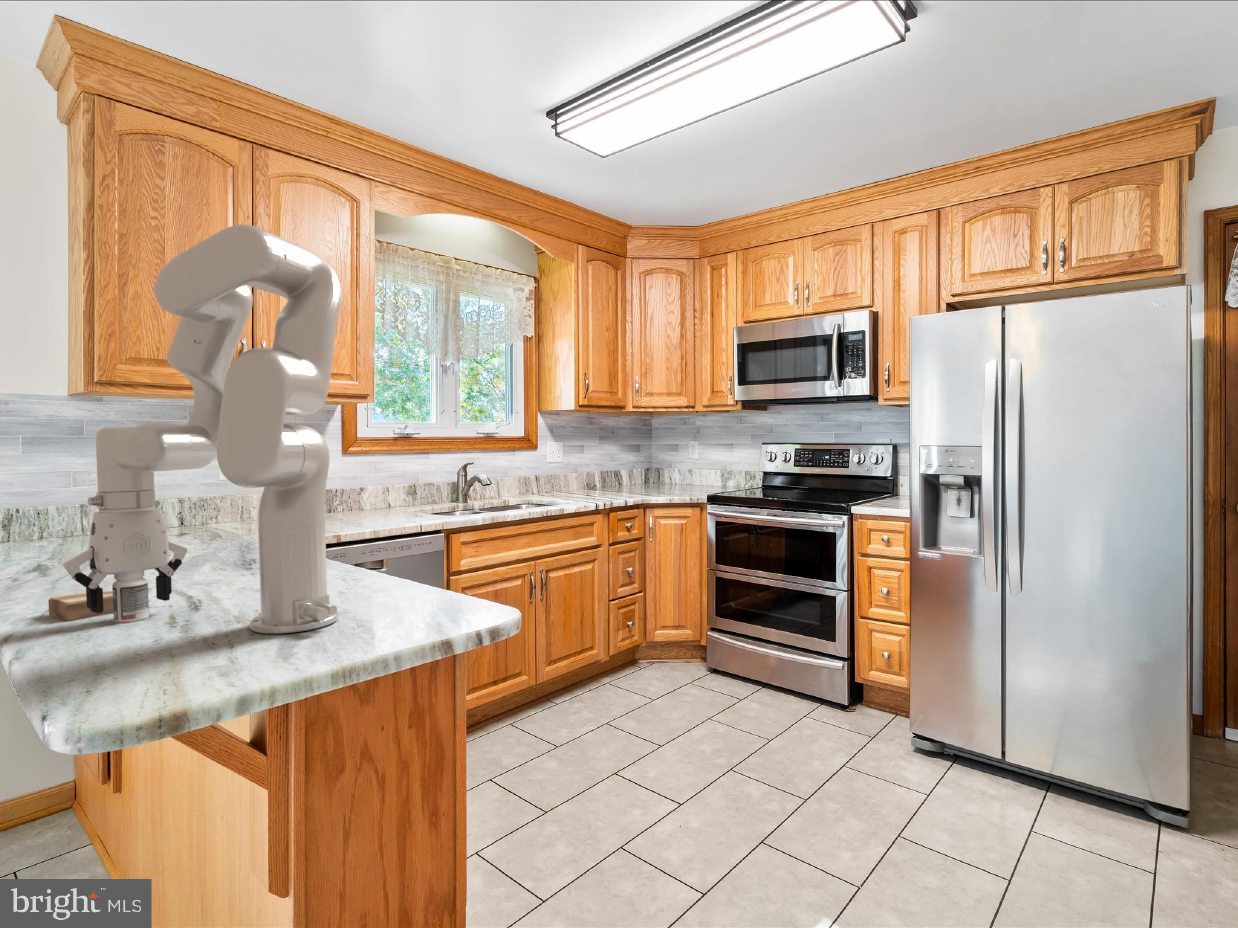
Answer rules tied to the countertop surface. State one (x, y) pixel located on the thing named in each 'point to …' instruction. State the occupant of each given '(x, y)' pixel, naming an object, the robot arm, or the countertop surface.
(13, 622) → the countertop surface
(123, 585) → the pill bottle
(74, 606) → the walnut stand
